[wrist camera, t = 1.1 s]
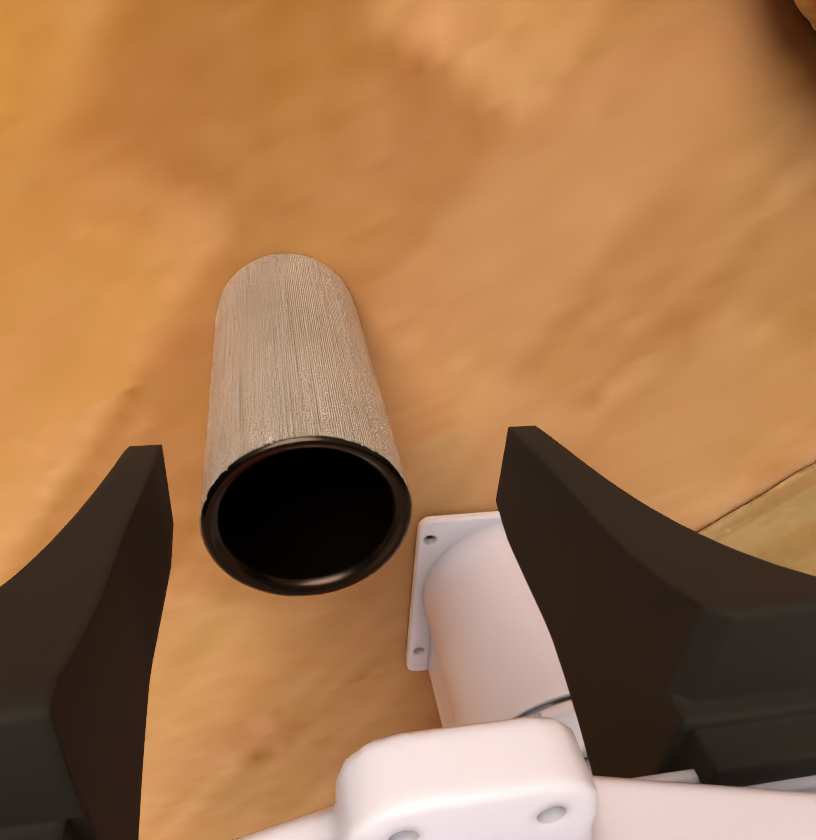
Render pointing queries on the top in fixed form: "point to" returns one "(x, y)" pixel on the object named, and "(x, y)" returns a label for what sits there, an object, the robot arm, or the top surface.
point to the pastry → (808, 10)
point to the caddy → (775, 524)
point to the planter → (297, 436)
